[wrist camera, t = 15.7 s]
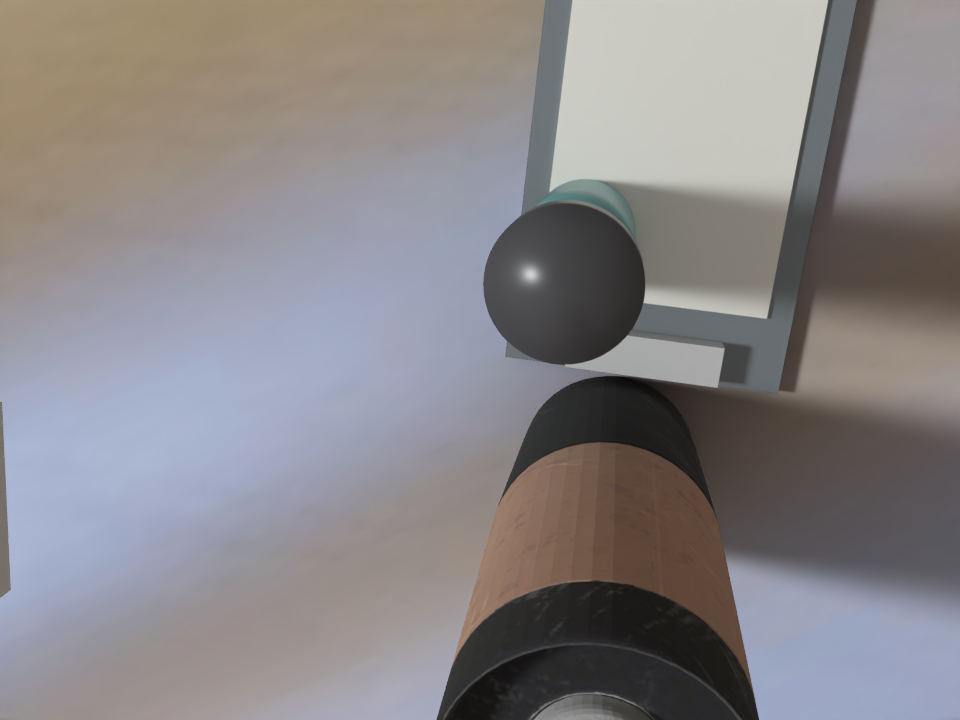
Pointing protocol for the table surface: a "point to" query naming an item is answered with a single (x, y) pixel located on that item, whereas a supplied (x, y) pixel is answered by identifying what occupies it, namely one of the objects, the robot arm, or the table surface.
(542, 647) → the travel mug
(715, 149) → the clipboard
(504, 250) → the marker
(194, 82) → the table surface
